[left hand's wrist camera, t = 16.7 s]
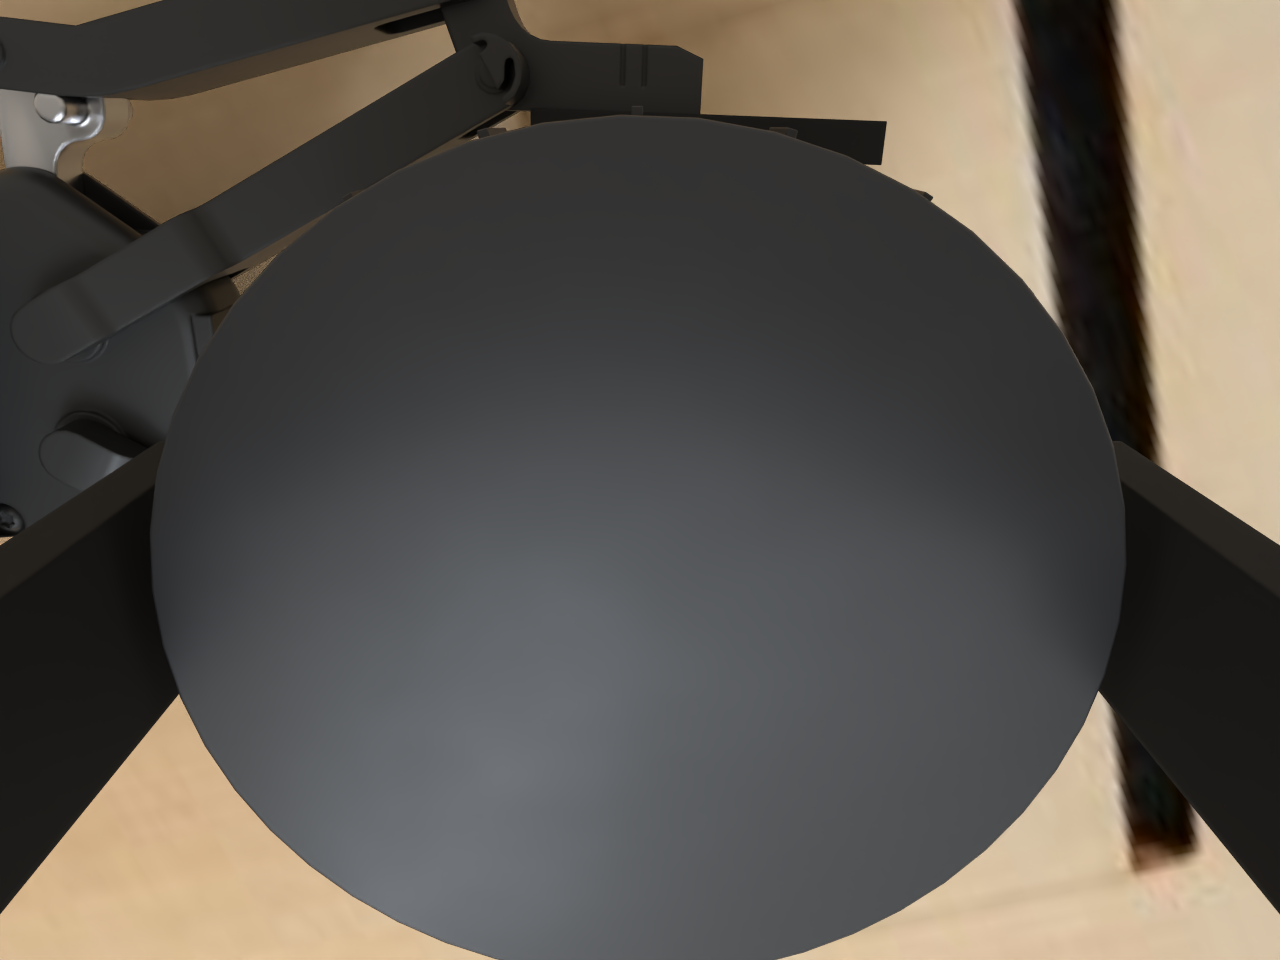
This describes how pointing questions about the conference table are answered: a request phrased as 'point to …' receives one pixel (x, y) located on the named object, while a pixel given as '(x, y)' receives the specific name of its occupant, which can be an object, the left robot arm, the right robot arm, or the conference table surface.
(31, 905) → the conference table surface
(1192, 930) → the conference table surface
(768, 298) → the lid
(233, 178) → the conference table surface
